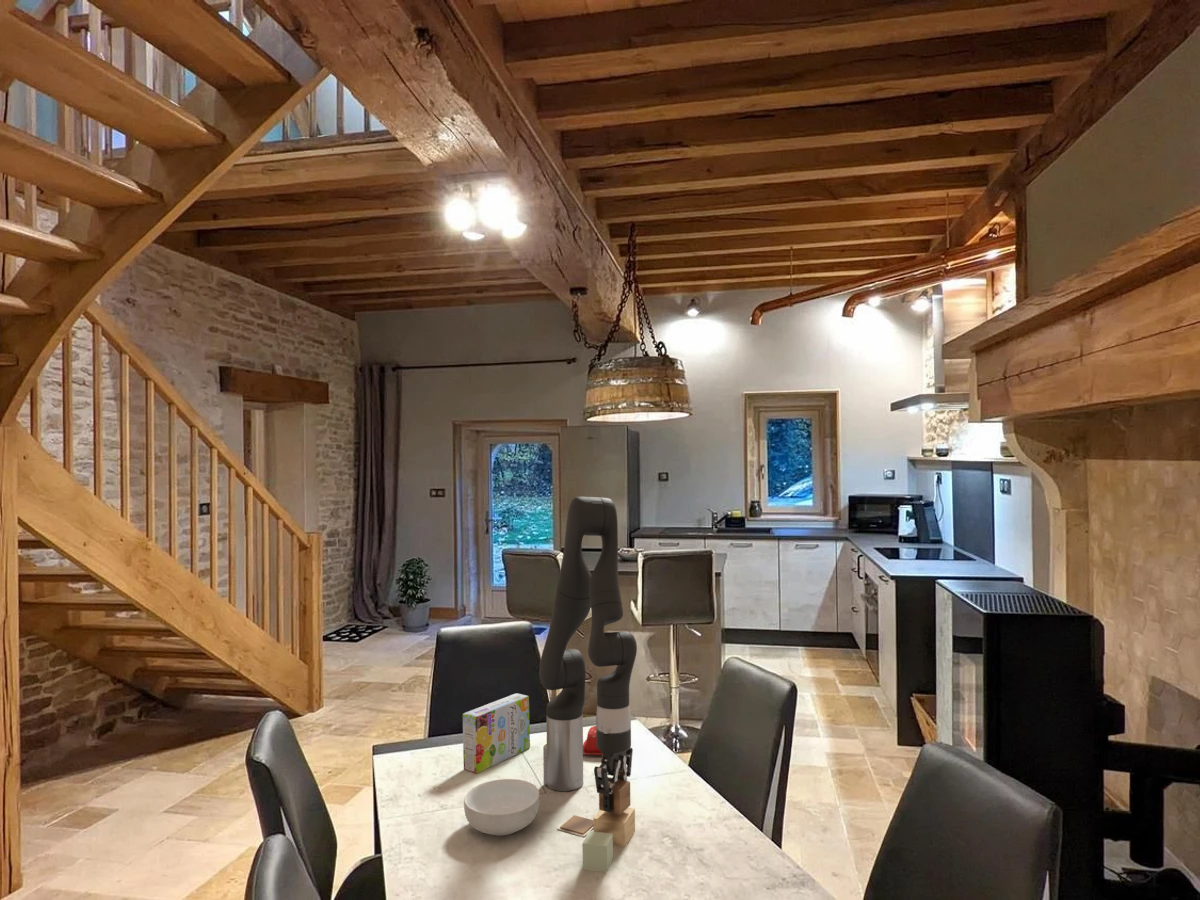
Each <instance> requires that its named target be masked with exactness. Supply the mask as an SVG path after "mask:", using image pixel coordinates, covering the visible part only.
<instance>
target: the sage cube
mask: <svg viewBox="0 0 1200 900" xmlns="http://www.w3.org/2000/svg"><path fill="white" fill-rule="evenodd" d="M581 847H582V870H588V871H597V872H604V873H607V872H608V871H609V869H610V867H611V864H612V862H613V859H614V845H613V834H611V833H602V832H594V830H591V831H589V832H588V834H587V835H586V836H585V837H584V840H583V842H582V846H581Z"/></svg>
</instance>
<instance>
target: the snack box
mask: <svg viewBox="0 0 1200 900" xmlns="http://www.w3.org/2000/svg"><path fill="white" fill-rule="evenodd" d="M530 731H531V730H530V697H529V695H526V694H521V693H518V692H517V693H513V694H510V695H508V696H506V697H503V698H500V699H497V700H495V701H492V702H489V703H488V704H487V703H486V704H484V705H482V706H480V707H476V708H474V709H471V710H469V711H466V712H464V713H462V744H463V745H462V749H463V750H462V751H463V752H462V753H463V754H462V755H463V770H464V771H468V772H472V773H474V774H479V773H481V772H483V771H485V770H487V769H489V768H491V767H493V766H495V765H497V764H499V763H501V762H503V761H505V760H507V759H510V758H512V757H514V756H516V755H518V754H521V753H523V752H525V751H527V750H529V749H530V748H531V739H530V738H531V735H530V734H531V733H530Z"/></svg>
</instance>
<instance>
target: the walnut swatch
mask: <svg viewBox="0 0 1200 900" xmlns="http://www.w3.org/2000/svg"><path fill="white" fill-rule="evenodd" d="M556 829H557V830H558V831H560V832H561V831H562V832H564V833H568V834H572V835H576V836H580V837H582V838H586V836H587V834H588V832H589V831H593V819H590V818H586V817H582V816H579V815H574V814H573V815H572V816H571V817H570V818H569V819H567V820H566V821H564V822H563V824H561V825H560V826H559V827H557V828H556Z"/></svg>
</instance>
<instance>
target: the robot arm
mask: <svg viewBox="0 0 1200 900" xmlns="http://www.w3.org/2000/svg"><path fill="white" fill-rule="evenodd" d="M617 512H618V511H617V508H616V505H615V503H614V501H613V499H611V498H609V497H603V496H602V497H598V496H576V497H573V499H571V502H570V503H569V507H568V511H567V518H566V526H565V527H566V528H565V534H564V535H565V538H564V547H563V554H562V560H561V565H560V570H559V575H558V579H557V585H556V590H555V595H554V602H553V607H552V614H551V619H550V625H549V628H548V633H547V636H546V639H545V643H544V646H543V650H542V654H541V655H540V656H541V657H540V662H539V670H538V671H539V672H538V673H539V674H538V675H539V680H540V684H541V685H542V687H543V689H545V690H547V691H556V690H557V691H558V690H561V691H560V692H559V693H558V694H557V695H556V696H555V697H553V698H552V699H551V700H549V701H548V703H547V704H546V714H545V715H546V743H545V744H544V745H543V754H542V755H543V756H542V757H543V758H542V760H543V764H542V765H543V785H545V786H547V787H548V788H550V790H554V791H558V792H569V791H575V790H577V789H579V788H581V787H582V786H583V784H584V754H583V744H584V727H583V726H584V724H583V722H584V721H583V720H584V715H583V710H584V706H585V702H586V701H585V700H586V699H585V698H586V696H585V695H586V676H587V675H586V674H587V673H586V672H587V670H586V663H585V658H584V655H583V653H581V651H580V650H579V649H576V648H569V649H566V648H567V645H568V644H569V642H570V640H571V638H572V637H573V636H574V635H575V633H576V632H577V631H578V629H579V628H580V626H582V624H583V623H584V622H585V620H586V619H587V617H588V615H589V613H590V612H591V627H590V636H589V641H588V642H589V643H588V649H587V652H588V657H589V660H590V662H591V663H592V664H593V665H594V666H595V667H598V668H599V667H611V666H616V667H615V670H613V671H612V672H610V673H608V674H605V675H602V676H601V677H599V678H598V679H597V682H596V713H595V715H596V716H595V720H596V721H595V722H596V724H595V726H596V744H597V748H598V749H599V750H600V751H601V752H602V755H601V760H600V763H601V764H600V765H599V766H594V768H593V774H594V781H595V787H596V793H597V794H599V793H601V794H603V809H604V810H605V811H608V812H612V811H613V810H614V794H613V792H614V784H615V783H616V782H617V779H620V780H625V781H628V777H629V778H630V777H631V775H632V762H633V751H634V750H633V747H632V721H631V720H632V719H631V708H630V684H631V683H630V682H631V677H632V673H633V669H634V665H635V661H636V656H637V651H638V645H637V641H636V640H637V639H636V638H635V636H634V635H633V633H631V632H629V631H626V630H623V631H622V630H621V631H610V632H605V627H606V626H608V625H610V624H611V625H612V624H613V623H616V622H619V621H621V619H623V617H624V609H623V603H622V594H621V588H620V581H619V567H618V566H619V560H618V559H619V541H618V540H619V537H618V536H619V535H618V532H619V531H618V529H619V528H618V523H619V522H618V514H617ZM585 536H588V537H589V536H591V537H593V536H597V537H598V536H599V537H601V551H600V552H601V553H600V556H599V559H598V561H597V562H596V565H595V567H594V569H593V571H592V573H591V571H590V569H589V567H588V565H587V563H586V560H585V557H584V555H583V549H582V548H583V547H582V545H583V538H584V537H585ZM609 776H611V778H610V777H609ZM609 782H610V788H609ZM601 785H602V786H601Z"/></svg>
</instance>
